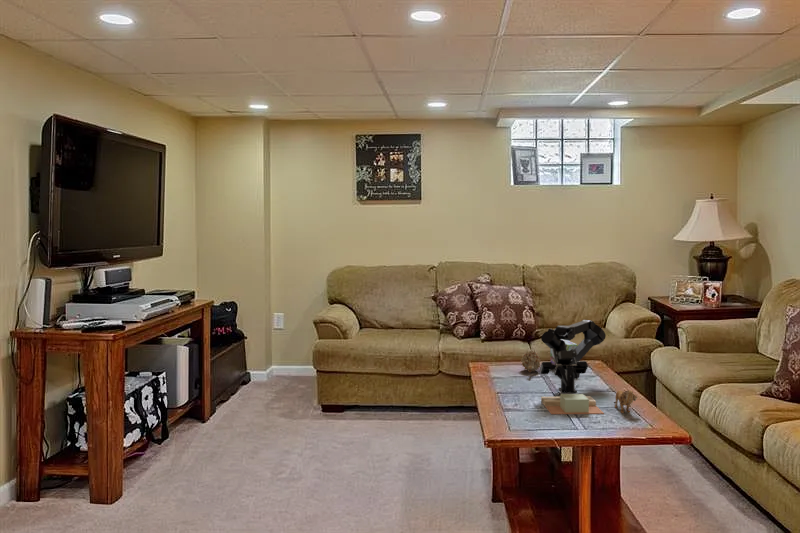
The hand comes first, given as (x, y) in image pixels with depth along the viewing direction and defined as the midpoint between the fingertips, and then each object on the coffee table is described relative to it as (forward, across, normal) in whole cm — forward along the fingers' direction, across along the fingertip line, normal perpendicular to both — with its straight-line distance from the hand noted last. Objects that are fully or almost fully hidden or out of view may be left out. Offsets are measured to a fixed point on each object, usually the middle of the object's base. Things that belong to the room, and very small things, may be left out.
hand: (567, 385), depth 246 cm
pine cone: (-30, -3, +41) cm, 51 cm away
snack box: (-34, +14, +45) cm, 58 cm away
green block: (+8, 0, -2) cm, 8 cm away
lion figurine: (+13, +19, -3) cm, 23 cm away
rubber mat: (+12, 0, -3) cm, 13 cm away
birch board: (+6, 0, +4) cm, 7 cm away
